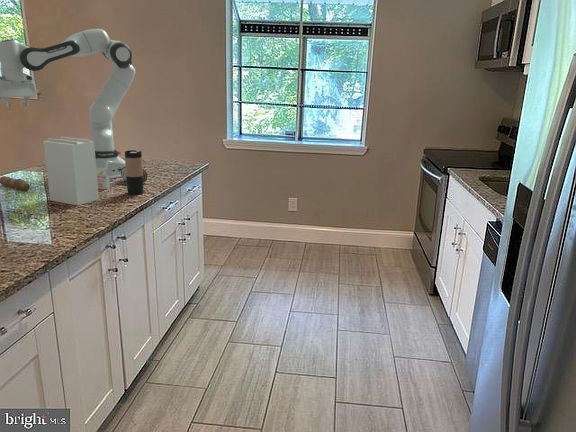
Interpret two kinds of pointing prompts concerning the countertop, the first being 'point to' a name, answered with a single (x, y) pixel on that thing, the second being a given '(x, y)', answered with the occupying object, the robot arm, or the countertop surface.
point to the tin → (123, 174)
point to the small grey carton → (103, 178)
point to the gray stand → (71, 170)
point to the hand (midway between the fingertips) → (17, 106)
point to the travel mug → (134, 172)
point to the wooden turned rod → (14, 183)
